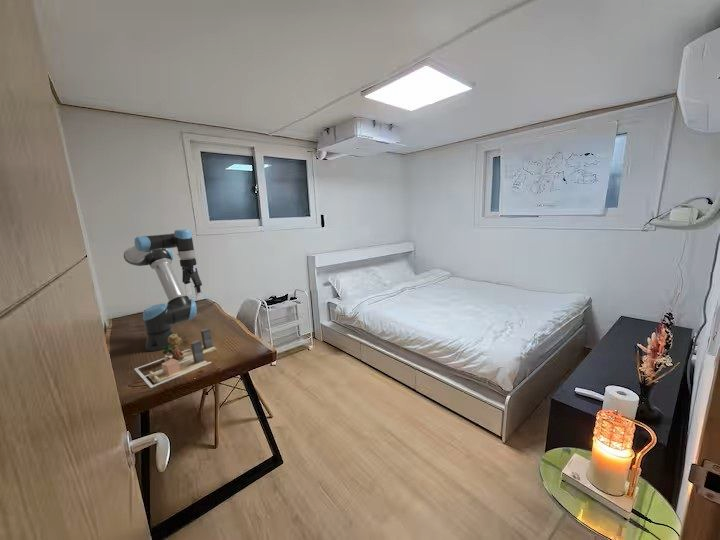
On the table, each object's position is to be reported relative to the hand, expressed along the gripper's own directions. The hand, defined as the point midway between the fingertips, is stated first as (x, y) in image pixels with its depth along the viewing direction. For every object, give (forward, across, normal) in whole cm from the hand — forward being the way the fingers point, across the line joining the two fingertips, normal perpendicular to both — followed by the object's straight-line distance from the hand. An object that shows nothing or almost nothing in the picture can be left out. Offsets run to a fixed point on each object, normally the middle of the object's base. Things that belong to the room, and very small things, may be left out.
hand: (194, 296), depth 159 cm
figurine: (+29, +9, -17) cm, 35 cm away
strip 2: (+29, +21, -19) cm, 40 cm away
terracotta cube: (+28, +21, -22) cm, 41 cm away
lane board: (+29, +14, -19) cm, 37 cm away
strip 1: (+29, +8, -9) cm, 31 cm away
